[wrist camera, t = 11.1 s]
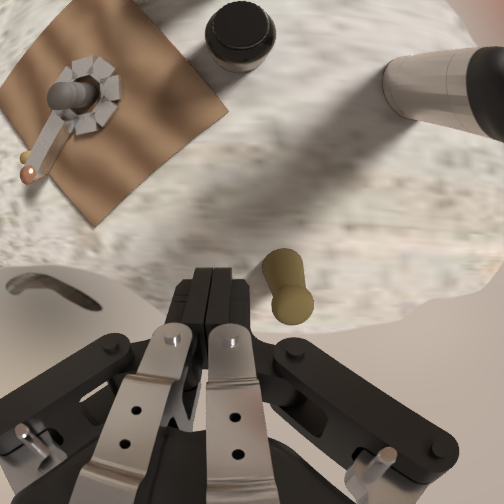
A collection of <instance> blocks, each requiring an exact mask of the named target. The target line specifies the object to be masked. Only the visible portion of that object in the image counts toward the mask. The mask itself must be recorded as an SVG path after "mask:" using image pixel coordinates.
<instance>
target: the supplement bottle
mask: <svg viewBox="0 0 504 504" xmlns="http://www.w3.org/2000/svg"><path fill="white" fill-rule="evenodd" d="M205 40H206V44H207V46H208V48H209V50H210V52H211V54H212V56H213V58H214V59H215V61H216V62H217V63H218V64H219V65H220V66H221V67H222V68H224V69H226V70H228V71H232V72H247V71H251V70H253V69H255V68H257V67H258V66H259V65H261V64H262V63H263V61H264V60H265V59H266V57H267V56H268V54H269V52H270V51H271V49H272V48H273V46H274V43H275V40H276V28H275V25H274V22H273V20H272V19H271V17H270V16H269V15H268V14H267V13H266V12H265V11H264V10H263V9H261V8H260V6H257V5H256V4H254V3H251V2H246V1H237V2H232V3H228V4H227V5H225V6H223V8H221V9H220V10H218V11H217V12H216V13H215V14H214V15H213V16H212V17H211V18H210V20H209V21H208V23H207V26H206V29H205Z"/></svg>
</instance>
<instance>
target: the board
mask: <svg viewBox="0 0 504 504" xmlns="http://www.w3.org/2000/svg"><path fill="white" fill-rule="evenodd" d="M92 55H93V56H96V60H97V58H98V57H99V56H100V57H103V58H104V59H105V60H107V61H108V62H109V63H111V64H112V65H113V66H115V67H116V68H117V69H118V71H117V72H116V73H115V74H114V76H116V75H121V81H122V99H120V100H115V101H114V102H115V103H116V104H118V105H119V106H120V107H119V108H118V110H117V111H116V112H115V114H114V115H113V117H112V118H111V119H110V121H109V122H108V124H107V125H106V126H104V127H102V126H101V125H100V124H99V127H100V130H98V131H93V132H88V133H83V134H79V135H76V130H75V131H74V133H71V134H70V135H69V137H68V139H67V140H66V142H65V144H64V146H63V147H62V149H61V151H60V153H59V154H58V156H57V158H56V160H55V162H54V163H53V165H52V167H51V169H50V171H49V174H50V175H51V177H52V178H53V179H54V180H55V182H56V183H57V184H58V185H59V186H60V188H61V189H62V190H63V191H64V192H65V194H66V195H67V196H68V197H69V198H70V200H71V201H72V202H73V203H74V204H75V205H76V207H77V208H78V209H79V210H80V211H81V212H82V214H83V215H84V216H85V217H86V218H87V219H88V220H89V222H90V223H91V224H92V225H93V226H94V227H96V226H97V225H98V224H99V223H100V222H101V221H102V220H103V219H104V218H105V217H106V216H107V215H108V214H109V213H110V212H111V211H112V210H113V209H114V208H115V207H116V206H117V205H118V204H119V203H120V202H121V201H122V200H123V199H124V198H125V197H126V196H127V195H128V194H129V193H131V192H132V191H133V190H134V189H135V188H136V187H137V186H138V185H139V184H140V183H141V182H143V181H144V180H145V179H146V178H147V177H148V176H149V175H150V174H151V173H153V172H154V171H155V170H156V169H157V168H158V167H160V166H161V165H162V164H163V163H164V162H165V161H167V160H168V159H169V158H170V157H171V156H172V155H174V154H175V153H176V152H177V151H179V150H180V149H181V148H182V147H183V146H185V145H186V144H187V143H188V142H190V141H191V140H192V139H193V138H195V137H196V136H197V135H198V134H200V133H201V132H202V131H204V130H205V129H206V128H208V127H209V126H210V125H211V124H213V123H214V122H215V121H217V120H218V119H220V118H221V117H222V116H224V115H225V114H226V113H228V112H229V111H228V110H227V108H226V107H225V106H224V104H223V103H222V102H221V101H220V100H219V98H218V97H217V96H216V95H215V93H214V92H213V91H212V90H211V89H210V87H209V86H208V85H207V84H206V82H205V81H204V80H203V79H202V78H201V76H200V75H199V74H198V73H197V72H196V71H195V69H194V68H193V67H192V66H191V65H190V64H189V62H188V61H187V60H186V59H185V58H184V57H183V55H182V54H181V53H180V52H179V51H178V50H177V49H176V47H175V46H174V45H173V44H172V43H171V42H170V41H169V40H168V38H167V37H166V36H165V35H164V34H163V33H162V32H161V31H160V30H159V29H158V27H157V26H156V25H155V24H154V23H153V22H152V21H151V20H150V19H149V18H148V17H147V16H146V15H145V13H144V12H143V11H142V10H141V9H140V8H139V7H138V6H137V5H136V4H135V3H134V2H133V1H132V0H72V1H71V2H70V3H69V4H68V5H67V6H66V7H65V8H64V9H63V10H62V11H61V12H60V13H59V14H58V15H57V17H56V18H55V19H54V20H53V21H52V22H51V23H50V24H49V25H48V26H47V27H46V29H45V30H44V31H43V32H42V33H41V34H40V35H39V37H38V38H37V39H36V40H35V41H34V43H33V44H32V45H31V46H30V48H29V49H28V50H27V51H26V53H25V54H24V55H23V57H22V58H21V59H20V61H19V62H18V63H17V65H16V66H15V67H14V69H13V70H12V72H11V73H10V74H9V76H8V77H7V79H6V80H5V82H4V83H3V85H2V86H1V88H0V107H1V108H2V110H3V111H4V113H5V114H6V116H7V117H8V119H9V120H10V122H11V123H12V124H13V126H14V127H15V129H16V130H17V132H18V133H19V134H20V136H21V137H22V139H23V140H24V141H25V143H26V144H27V145H28V147H29V148H30V149H31V150H32V148H33V146H34V144H35V142H36V140H37V138H38V137H39V135H40V133H41V131H42V129H43V127H44V125H45V124H46V122H47V120H48V118H49V116H50V115H51V113H52V110H64V109H72V108H73V109H75V110H76V111H77V112H78V113H79V114H81V115H82V114H86V113H91V112H92V111H93V109H94V108H95V106H96V105H97V104H98V102H99V101H100V99H101V93H100V83H99V82H98V81H97V80H96V79H94V78H93V77H92V76H87V77H83V78H80V79H79V80H78V81H77V82H57V83H55V82H56V81H57V79H58V78H59V76H60V74H61V73H62V71H63V70H64V68H65V67H66V66H70V67H71V68H72V61H75V60H78V59H82V58H85V57H89V56H92ZM31 150H29V151H26V152H23V153H22V154H21V155H20V162H21V163H22V164H25V163H26V161H27V159H28V157H29V155H30V152H31Z"/></svg>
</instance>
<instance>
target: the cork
mask: <svg viewBox="0 0 504 504" xmlns="http://www.w3.org/2000/svg"><path fill="white" fill-rule="evenodd" d="M262 269H263V273H264V276H265V278H266V281H267V283H268V285H269V288H270V290H271V293H272V295H273V299H272V303H271V305H272V312H273V314H274V316H275V318H276V319H277V320H278V321H280V322H281V323H283V324H286V325H298V324H301V323H303V322H305V321H306V320H307V319H308V318H309V317H310V316H311V314H312V312H313V309H314V300H313V297H312V295H311V293H310V292H309V291H308V290H307V289H306V285H305V276H304V268H303V261H302V259H301V256H300V255H299V254H298V253H297V252H295V251H293V250H292V249H286V248H283V249H277V250H275V251H272V252H271V253H270V254H268V255H267V257H266V258H265V260H264V262H263V265H262Z"/></svg>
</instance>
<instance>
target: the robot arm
mask: <svg viewBox="0 0 504 504" xmlns="http://www.w3.org/2000/svg"><path fill="white" fill-rule="evenodd" d="M383 90H384V94H385V97H386V99H387V101H388V103H389V104H390V106H391V107H392V108H393V109H394V110H395V111H396V112H397V113H398V114H400V115H401V116H403V117H405V118H408V119H413V120H418V121H423V122H427V123H432V124H437V125H441V126H446V127H450V128H454V129H458V130H462V131H466V132H469V133H473V134H477V135H481V136H484V137H488V138H491V139H494V140H497V141H501V142H503V143H504V47H497V46H495V47H476V48H465V49H454V50H445V51H437V52H429V53H422V54H415V55H410V56H404V57H399V58H396V59H394V60H393V61H391V62H390V63H389V64H388V66H387V67H386V69H385V72H384V75H383ZM202 369H208V382H207V383H206V430H203V431H196V432H193V422H194V418H195V412H196V408H197V403H198V399H199V394H200V389H201V375H202ZM106 381H107V382H108V385H107V386H105V387H104V388H102V389H101V390H99V391H98V392H96V393H95V394H93V395H92V396H90V397H89V398H87V399H86V400H85V401H83V402H79V401H80V399H81V398H82V397H83V396H85V395H86V394H87V393H89V392H91V391H92V390H94V389H95V388H97V387H98V386H100V385H101V384H103V383H104V382H106ZM262 402H266V403H270V405H271V407H272V409H273V410H274V411H275V412H276V413H278V414H279V415H280V416H281V417H282V418H283V419H284V420H285V421H287V422H288V423H289V424H290V425H291V426H292V427H294V428H295V429H296V430H297V431H298V432H299V433H301V434H302V435H303V436H304V437H305V438H306V439H308V440H309V441H310V442H311V443H313V444H314V445H315V446H316V447H318V448H319V449H320V450H321V451H323V452H324V453H325V454H326V455H327V456H329V457H330V458H331V459H333V460H334V461H335V462H336V463H338V464H339V465H340V466H342V467H343V468H344V469H346V470H347V472H346V474H345V478H344V479H345V480H344V482H345V486H346V488H347V489H348V491H349V492H350V493H351V494H352V495H353V496H354V498H355V499H356V502H357V504H415V503H416V502H417V500H418V499H419V498H420V496H421V495H422V494H423V492H424V491H425V489H426V488H427V487H428V486H429V485H430V484H431V483H433V482H434V481H435V480H437V479H438V478H439V477H441V476H442V475H443V474H444V473H446V472H447V471H448V470H449V469H450V468H452V467H453V466H454V465H455V463H456V462H457V460H458V457H459V446H458V443H457V441H456V440H455V438H454V437H453V436H452V435H450V434H449V433H448V432H446V431H444V430H443V429H441V428H439V427H437V426H436V425H434V424H433V423H431V422H429V421H428V420H426V419H425V418H423V417H421V416H420V415H419V414H417V413H415V412H414V411H412V410H411V409H409V408H407V407H406V406H404V405H403V404H401V403H400V402H398V401H397V400H395V399H394V398H392V397H390V396H389V395H387V394H386V393H384V392H383V391H381V390H380V389H378V388H377V387H375V386H374V385H372V384H371V383H369V382H367V381H366V380H364V379H363V378H362V377H360V376H359V375H357V374H356V373H354V372H353V371H351V370H350V369H348V368H347V367H345V366H344V365H342V364H340V363H339V362H338V361H336V360H335V359H334V358H332V357H331V356H329V355H328V354H326V353H325V352H324V351H322V350H321V349H319V348H318V347H316V346H315V345H313V344H312V343H310V342H309V341H307V340H305V339H301V338H296V337H295V338H294V337H293V338H286V339H283V340H281V341H280V342H278V343H277V344H276V345H273V344H268V343H265V342H262V341H260V340H258V339H257V338H256V337H255V336H254V335H253V334H252V332H251V329H250V294H249V285H248V284H247V283H246V281H245V280H244V279H232V268H214V269H213V268H195V272H194V276H193V279H183V280H182V281H181V282H180V283H179V284H178V285H177V286H176V289H175V292H174V296H173V298H172V303H171V305H170V308H169V311H168V314H167V317H166V321H165V324H164V325H162V326H160V327H159V328H157V329H156V330H155V331H154V333H153V335H152V338H151V339H148V340H145V341H140V342H135V343H130V341H129V339H128V338H127V337H126V336H125V335H123V334H120V333H110V334H107V335H104V336H102V337H100V338H99V339H97V340H95V341H94V342H92V343H90V344H89V345H87V346H86V347H84V348H83V349H81V350H79V351H78V352H76V353H74V354H73V355H71V356H69V357H68V358H66V359H64V360H63V361H61V362H60V363H58V364H56V365H55V366H53V367H51V368H50V369H48V370H46V371H45V372H43V373H42V374H40V375H38V376H37V377H35V378H34V379H32V380H30V381H29V382H27V383H25V384H24V385H22V386H20V387H19V388H17V389H16V390H14V391H12V392H11V393H9V394H8V395H6V396H4V397H3V398H1V399H0V465H1V467H2V469H3V471H4V473H5V476H6V477H7V480H8V482H9V484H10V486H11V488H12V489H13V491H14V493H15V497H14V498H13V500H12V502H11V504H356V503H355V502H353V501H352V500H351V499H349V498H348V497H347V496H346V495H344V494H343V493H342V492H341V491H340V490H338V489H337V488H336V487H335V486H333V485H332V484H331V483H330V482H329V481H327V480H326V479H325V478H324V477H323V476H322V475H321V474H319V473H318V472H317V471H316V470H315V469H314V468H313V467H311V466H310V465H309V464H308V463H307V462H306V461H305V460H304V459H303V458H302V457H301V456H299V455H298V454H297V453H296V452H295V451H294V450H292V449H291V448H290V447H288V446H287V445H285V444H283V443H281V442H279V441H276V440H275V439H272V438H269V437H267V429H266V423H265V416H264V409H263V403H262Z"/></svg>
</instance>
